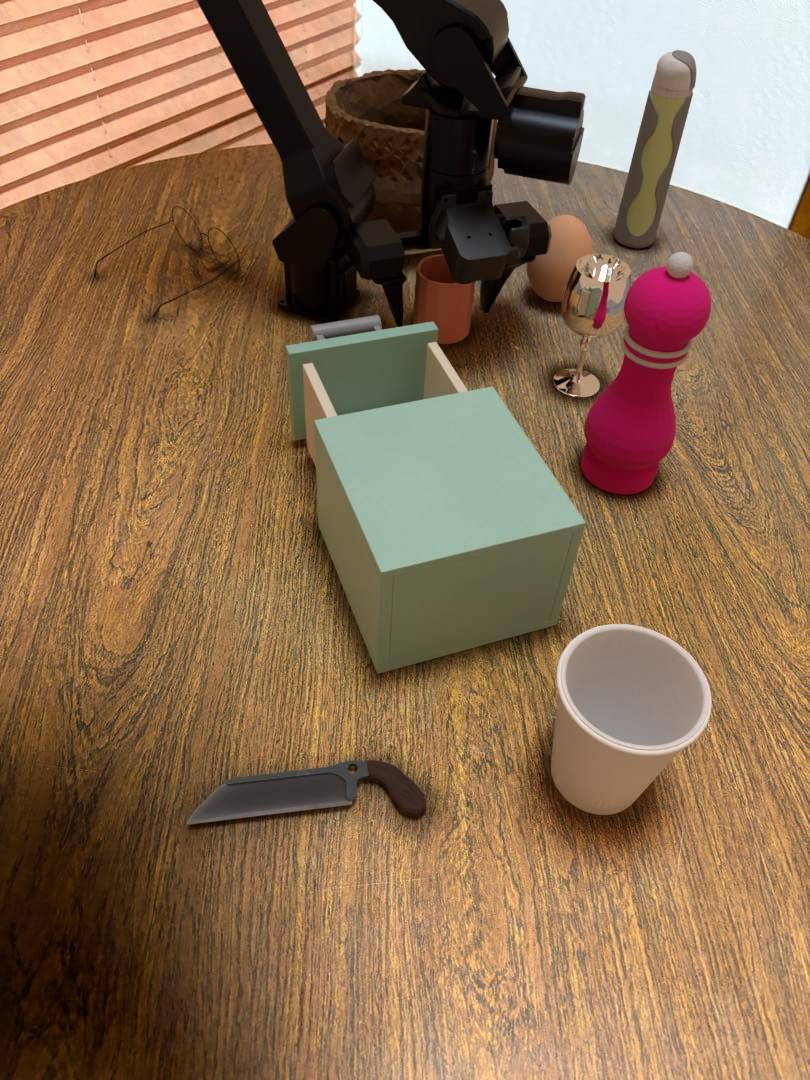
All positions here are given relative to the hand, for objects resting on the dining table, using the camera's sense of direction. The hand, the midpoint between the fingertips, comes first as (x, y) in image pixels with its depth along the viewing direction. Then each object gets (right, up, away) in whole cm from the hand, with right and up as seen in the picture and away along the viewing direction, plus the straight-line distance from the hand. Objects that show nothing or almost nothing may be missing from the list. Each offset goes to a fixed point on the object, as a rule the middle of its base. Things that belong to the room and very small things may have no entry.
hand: (441, 318), depth 86 cm
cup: (0, -1, +1) cm, 1 cm away
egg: (+12, +3, +6) cm, 14 cm away
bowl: (-4, +14, +14) cm, 20 cm away
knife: (-10, -38, -34) cm, 52 cm away
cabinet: (-2, -25, -21) cm, 33 cm away
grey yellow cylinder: (+23, +13, +15) cm, 31 cm away
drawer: (-6, -15, -14) cm, 21 cm away
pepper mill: (+14, -16, -13) cm, 25 cm away
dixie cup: (+8, -37, -32) cm, 49 cm away
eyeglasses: (-29, +5, +5) cm, 30 cm away
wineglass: (+12, -7, -4) cm, 15 cm away
